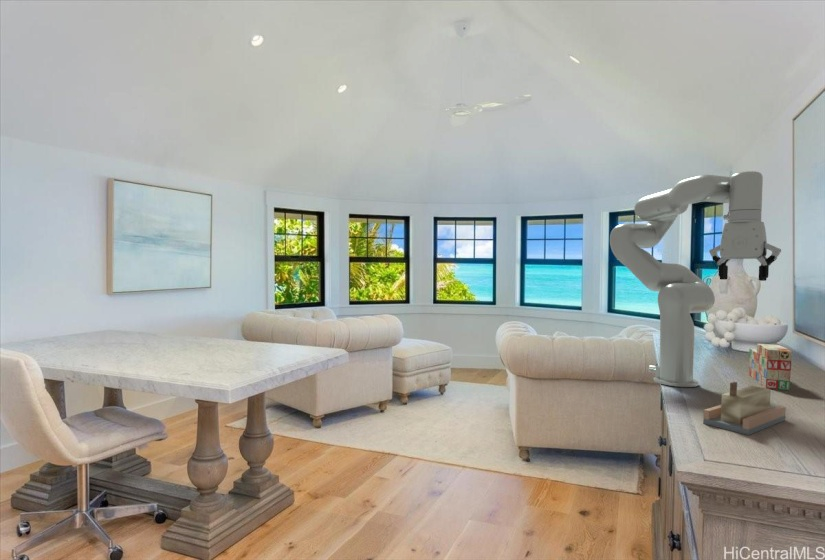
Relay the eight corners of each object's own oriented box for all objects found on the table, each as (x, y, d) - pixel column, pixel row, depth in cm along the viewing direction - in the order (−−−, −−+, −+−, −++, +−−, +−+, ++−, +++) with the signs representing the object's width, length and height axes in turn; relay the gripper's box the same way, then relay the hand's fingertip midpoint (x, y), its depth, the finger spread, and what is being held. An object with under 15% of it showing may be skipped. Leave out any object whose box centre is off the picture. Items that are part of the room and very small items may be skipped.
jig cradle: (703, 423, 116) (703, 409, 116) (741, 410, 127) (742, 398, 127) (748, 435, 108) (749, 420, 108) (785, 420, 119) (785, 407, 119)
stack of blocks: (748, 375, 172) (749, 339, 172) (770, 376, 170) (771, 340, 169) (765, 388, 152) (767, 348, 152) (790, 390, 150) (792, 350, 149)
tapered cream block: (720, 420, 115) (722, 381, 114) (751, 409, 124) (752, 373, 124) (740, 424, 111) (741, 384, 111) (769, 413, 120) (771, 376, 120)
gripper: (704, 219, 141) (702, 279, 142) (775, 214, 127) (773, 281, 128) (717, 220, 146) (715, 279, 146) (787, 216, 131) (785, 281, 132)
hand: (742, 279), depth 137 cm, fingers open, 9 cm apart
